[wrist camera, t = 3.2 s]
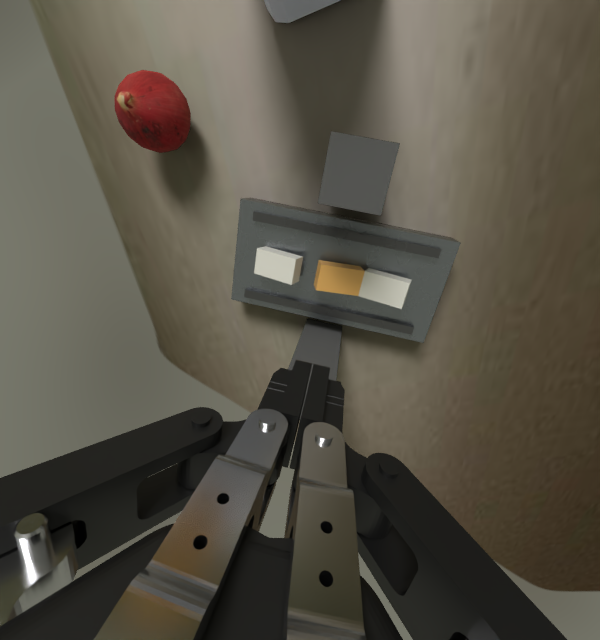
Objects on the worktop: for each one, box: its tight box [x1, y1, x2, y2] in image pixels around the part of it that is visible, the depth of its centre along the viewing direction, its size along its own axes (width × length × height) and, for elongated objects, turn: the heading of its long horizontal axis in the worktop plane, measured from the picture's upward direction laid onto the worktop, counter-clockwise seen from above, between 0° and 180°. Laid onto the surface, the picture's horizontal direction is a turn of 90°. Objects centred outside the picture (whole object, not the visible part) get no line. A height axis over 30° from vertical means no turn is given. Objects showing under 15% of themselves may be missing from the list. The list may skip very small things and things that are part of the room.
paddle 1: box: [254, 246, 303, 285], centre depth 30 cm, size 4×2×2 cm, turn 79°
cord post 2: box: [318, 131, 400, 216], centre depth 25 cm, size 4×4×12 cm
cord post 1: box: [288, 318, 342, 419], centre depth 32 cm, size 4×4×12 cm
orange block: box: [314, 260, 365, 296], centre depth 30 cm, size 4×2×2 cm, turn 80°
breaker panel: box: [231, 198, 460, 343], centre depth 32 cm, size 20×10×4 cm, turn 80°
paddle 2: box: [358, 268, 412, 309], centre depth 29 cm, size 4×2×2 cm, turn 79°
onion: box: [115, 70, 190, 153], centre depth 27 cm, size 6×6×8 cm
